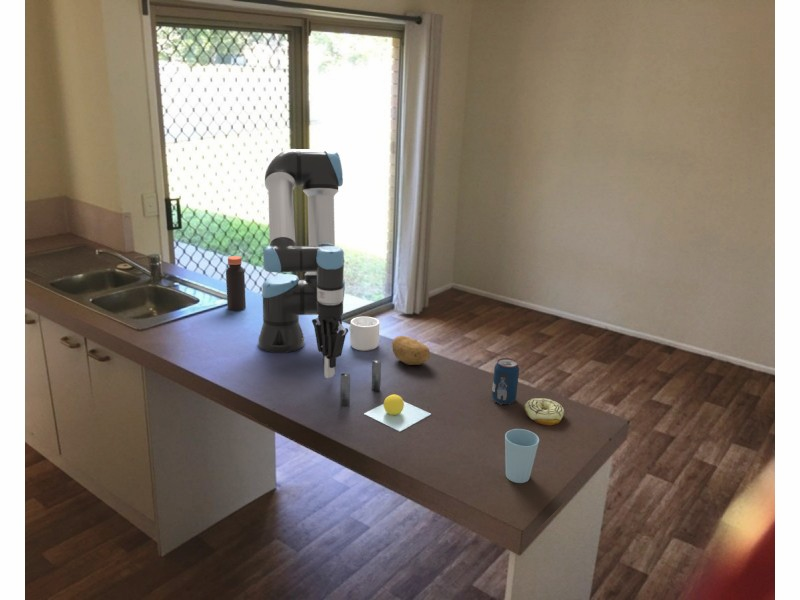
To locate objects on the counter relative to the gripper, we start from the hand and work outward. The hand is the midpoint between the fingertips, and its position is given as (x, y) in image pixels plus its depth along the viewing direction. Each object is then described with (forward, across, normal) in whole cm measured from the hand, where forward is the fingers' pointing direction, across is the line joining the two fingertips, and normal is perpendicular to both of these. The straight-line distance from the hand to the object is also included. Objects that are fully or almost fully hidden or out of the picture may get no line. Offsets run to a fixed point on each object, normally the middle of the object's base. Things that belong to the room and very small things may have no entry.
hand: (329, 376), depth 193 cm
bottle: (+2, -71, +18) cm, 73 cm away
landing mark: (+2, +27, 0) cm, 27 cm away
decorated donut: (+2, +56, +28) cm, 63 cm away
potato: (+2, +8, +28) cm, 29 cm away
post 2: (+2, +13, +6) cm, 15 cm away
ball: (-1, +26, -1) cm, 26 cm away
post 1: (+2, +13, -6) cm, 15 cm away
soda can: (+2, +43, +28) cm, 51 cm away
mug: (+2, -12, +28) cm, 30 cm away
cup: (+2, +66, -2) cm, 66 cm away
